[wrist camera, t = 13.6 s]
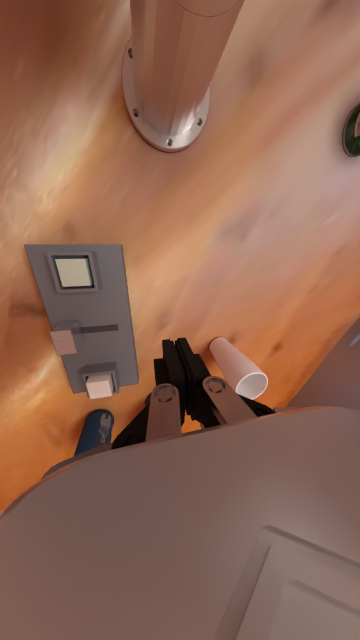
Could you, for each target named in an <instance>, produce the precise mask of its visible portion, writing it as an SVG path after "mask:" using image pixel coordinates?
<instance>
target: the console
mask: <svg viewBox="0 0 360 640" xmlns="http://www.w3.org/2000/svg"><path fill="white" fill-rule="evenodd" d="M24 246H25V249H26V252H27V255H28V258H29V261H30V264H31V267H32V270H33V273H34V276H35V279H36V282H37V285H38V288H39V291H40V294H41V297H42V300H43V303H44V306H45V309H46V312H47V315H48V318H49V321H50V324H51V328H52V329H53V328H55V327H56V326H57V325H58V324H59V323H60V322H70V321H79V324H80V328H81V332H82V336H83V340H84V342H83V344H82V346H81V347H80V349H79V350H78V352H77V353H73V354H64V355H61V358H62V361H63V364H64V367H65V370H66V373H67V376H68V379H69V382H70V385H71V388H72V391H73V394H74V393H81V392H87V396H88V398H90V396H89V393H88V389H87V386H86V382H87V380H88V377H89V376H92V375H99V374H107V373H112V378H113V383H114V387H113V392H112V394H116V393H119V387H120V386H126V385H133V384H138V380H139V374H138V366H137V358H136V350H135V342H134V334H133V326H132V318H131V311H130V303H129V295H128V287H127V279H126V271H125V263H124V255H123V247H122V245H24ZM62 258H89V261H90V266H91V271H92V276H93V281H94V284H92V285H91V286H69V287H63V286H62V283H61V279H60V275H59V272H58V268H57V264H56V261H55V259H62Z"/></svg>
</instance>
